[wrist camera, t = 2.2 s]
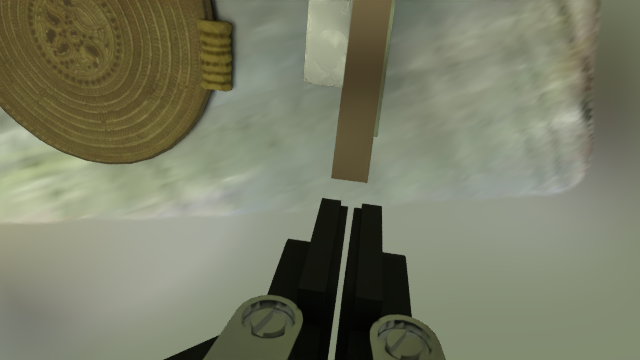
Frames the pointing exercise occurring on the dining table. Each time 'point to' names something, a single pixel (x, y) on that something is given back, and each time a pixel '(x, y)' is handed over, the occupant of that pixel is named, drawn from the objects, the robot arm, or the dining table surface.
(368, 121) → the picture frame
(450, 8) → the dining table surface
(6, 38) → the decorative disc
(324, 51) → the frame post
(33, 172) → the dining table surface
